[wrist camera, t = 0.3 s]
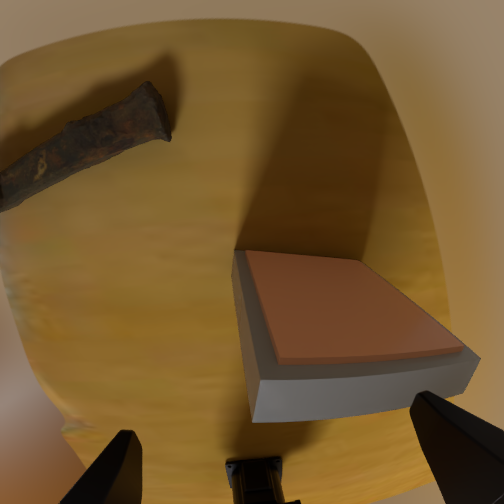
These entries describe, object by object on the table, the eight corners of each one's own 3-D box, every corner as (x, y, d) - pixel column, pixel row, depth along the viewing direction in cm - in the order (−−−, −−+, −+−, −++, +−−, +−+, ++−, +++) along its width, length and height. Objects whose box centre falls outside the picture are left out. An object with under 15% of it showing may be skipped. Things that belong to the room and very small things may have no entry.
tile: (355, 284, 24) (462, 393, 11) (231, 276, 23) (252, 422, 9) (361, 257, 23) (483, 352, 10) (234, 245, 22) (261, 372, 9)
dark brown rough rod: (163, 89, 18) (149, 70, 14) (177, 140, 20) (166, 134, 15) (-23, 184, 18) (-57, 191, 14) (-13, 226, 19) (-45, 239, 15)
